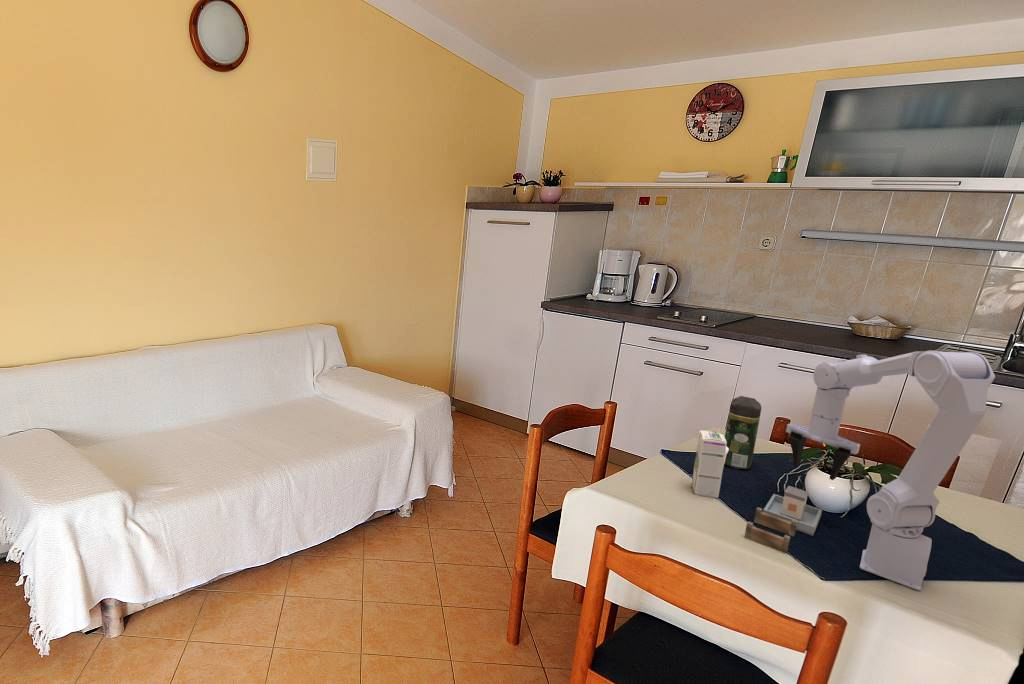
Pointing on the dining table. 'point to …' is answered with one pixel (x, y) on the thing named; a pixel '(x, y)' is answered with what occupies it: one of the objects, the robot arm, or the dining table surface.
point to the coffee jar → (742, 431)
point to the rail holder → (768, 537)
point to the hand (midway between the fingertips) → (814, 471)
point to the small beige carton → (794, 503)
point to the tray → (805, 525)
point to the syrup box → (709, 463)
